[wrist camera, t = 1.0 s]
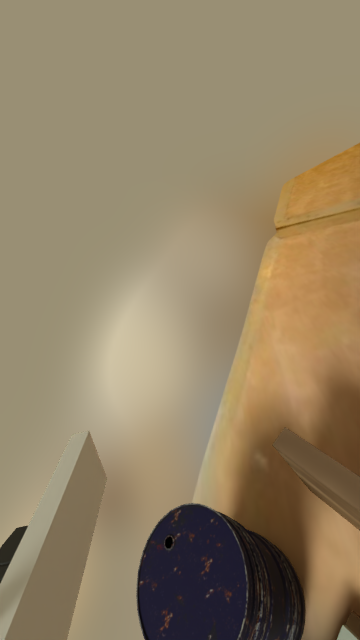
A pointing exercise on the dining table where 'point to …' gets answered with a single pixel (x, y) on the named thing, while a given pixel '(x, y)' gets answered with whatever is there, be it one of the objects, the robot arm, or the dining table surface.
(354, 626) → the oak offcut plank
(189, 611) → the dark blue cylinder
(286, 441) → the wooden bookend pair
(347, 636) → the grey offcut plank
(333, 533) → the dining table surface
